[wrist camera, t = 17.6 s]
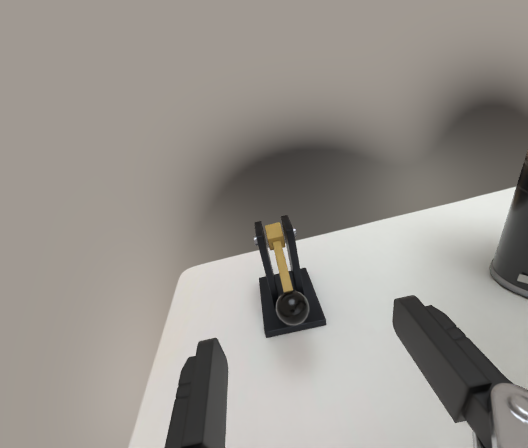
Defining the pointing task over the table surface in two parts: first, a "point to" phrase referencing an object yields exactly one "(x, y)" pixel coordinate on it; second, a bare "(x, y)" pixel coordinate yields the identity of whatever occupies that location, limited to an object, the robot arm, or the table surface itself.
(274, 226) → the lever
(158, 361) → the table surface
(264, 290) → the lock bracket
